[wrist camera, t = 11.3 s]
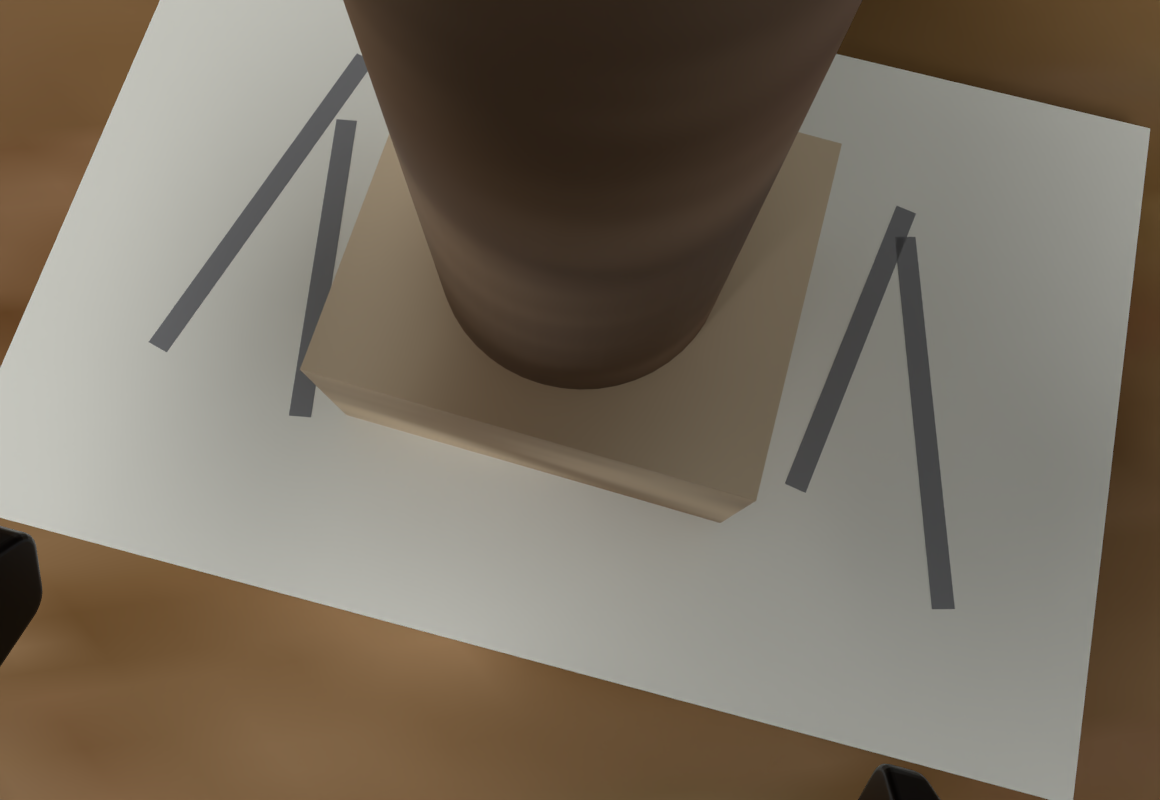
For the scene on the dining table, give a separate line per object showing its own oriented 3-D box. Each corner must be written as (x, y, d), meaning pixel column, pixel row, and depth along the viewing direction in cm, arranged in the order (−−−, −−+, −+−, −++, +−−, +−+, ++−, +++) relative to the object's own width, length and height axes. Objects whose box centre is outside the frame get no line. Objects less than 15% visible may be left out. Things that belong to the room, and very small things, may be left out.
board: (1120, 153, 19) (1150, 128, 18) (1041, 794, 16) (1072, 805, 15) (219, -62, 20) (201, -98, 19) (-23, 509, 17) (-59, 501, 16)
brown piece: (794, 223, 17) (1409, -823, 5) (720, 523, 16) (1315, 151, 3) (448, 129, 18) (180, -1081, 5) (345, 414, 16) (-379, -294, 4)
